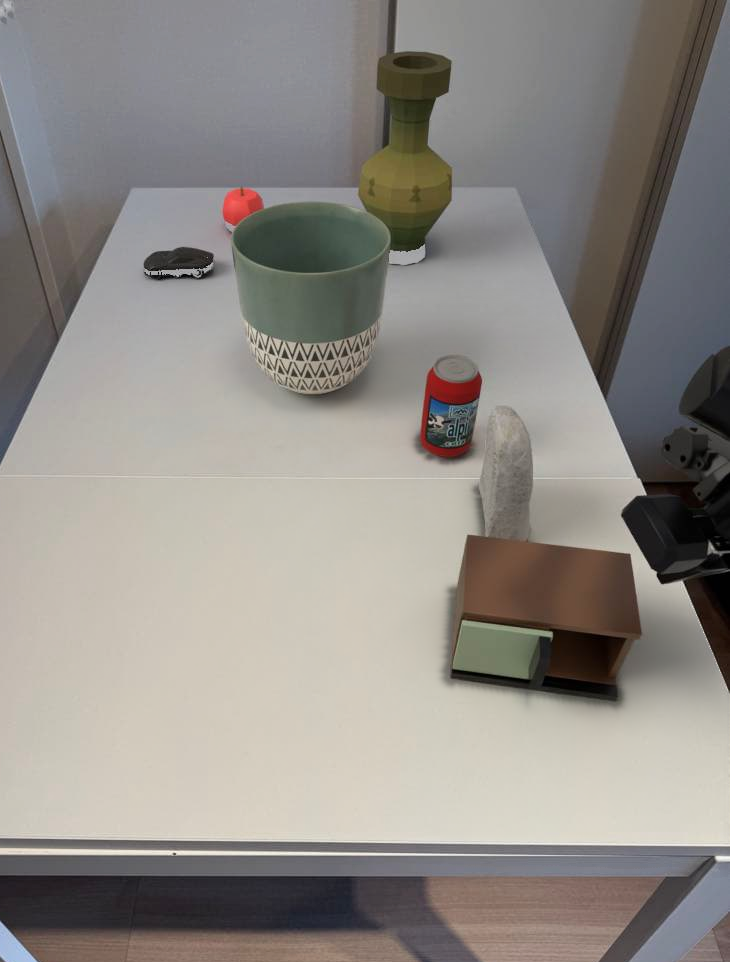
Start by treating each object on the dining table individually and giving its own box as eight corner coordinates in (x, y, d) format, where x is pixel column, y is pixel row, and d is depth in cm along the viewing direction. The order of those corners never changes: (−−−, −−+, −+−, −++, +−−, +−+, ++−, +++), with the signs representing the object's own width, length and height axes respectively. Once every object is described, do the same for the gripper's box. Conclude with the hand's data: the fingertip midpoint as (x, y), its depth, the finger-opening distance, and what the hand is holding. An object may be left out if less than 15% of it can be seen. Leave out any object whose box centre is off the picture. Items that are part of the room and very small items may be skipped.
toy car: (147, 264, 134) (143, 243, 132) (216, 263, 135) (213, 242, 132) (143, 281, 130) (139, 259, 128) (214, 279, 131) (211, 258, 128)
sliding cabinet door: (536, 675, 75) (552, 631, 70) (537, 701, 73) (554, 658, 68) (452, 664, 76) (462, 619, 71) (451, 689, 74) (460, 646, 69)
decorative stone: (467, 484, 96) (486, 384, 85) (515, 485, 96) (540, 384, 85) (479, 549, 88) (501, 448, 77) (531, 549, 88) (560, 448, 77)
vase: (336, 248, 139) (339, 58, 117) (403, 224, 145) (417, 40, 123) (396, 284, 130) (411, 86, 108) (465, 257, 136) (491, 65, 114)
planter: (225, 410, 106) (208, 262, 90) (266, 334, 119) (258, 194, 104) (366, 431, 103) (373, 282, 87) (392, 351, 116) (403, 209, 100)
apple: (235, 218, 147) (231, 175, 141) (273, 225, 145) (271, 182, 139) (215, 235, 142) (211, 192, 136) (254, 243, 140) (251, 199, 134)
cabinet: (606, 609, 82) (630, 553, 76) (616, 701, 74) (644, 647, 68) (455, 590, 84) (467, 534, 77) (450, 678, 76) (462, 623, 70)
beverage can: (429, 465, 98) (440, 387, 89) (411, 433, 103) (419, 355, 94) (478, 456, 99) (493, 378, 91) (458, 424, 104) (471, 347, 95)
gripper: (813, 395, 65) (689, 503, 77) (653, 391, 58) (543, 512, 70) (897, 500, 60) (749, 599, 72) (732, 512, 52) (598, 620, 64)
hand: (661, 579), depth 70 cm, fingers closed
